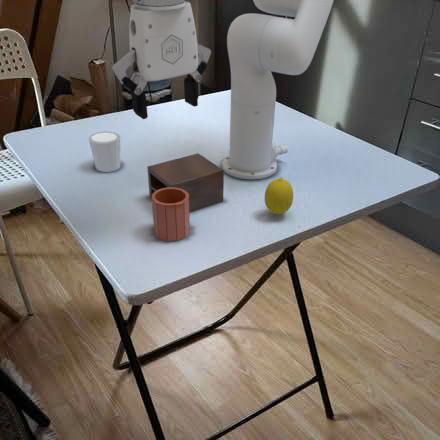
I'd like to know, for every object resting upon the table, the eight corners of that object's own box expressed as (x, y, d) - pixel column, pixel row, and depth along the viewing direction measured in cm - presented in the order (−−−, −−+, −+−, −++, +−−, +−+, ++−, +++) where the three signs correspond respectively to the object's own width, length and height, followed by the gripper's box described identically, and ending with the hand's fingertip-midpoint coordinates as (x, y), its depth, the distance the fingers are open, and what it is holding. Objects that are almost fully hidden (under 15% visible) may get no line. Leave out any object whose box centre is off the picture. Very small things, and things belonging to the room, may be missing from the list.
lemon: (271, 224, 100) (274, 186, 95) (258, 211, 104) (261, 174, 99) (296, 218, 102) (300, 181, 97) (282, 205, 106) (286, 169, 101)
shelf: (198, 183, 113) (198, 152, 109) (223, 201, 107) (223, 170, 103) (149, 197, 108) (147, 166, 103) (172, 217, 102) (171, 185, 97)
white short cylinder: (117, 174, 116) (113, 144, 111) (88, 171, 117) (83, 141, 112) (127, 161, 121) (124, 132, 117) (99, 158, 122) (95, 129, 118)
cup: (178, 219, 101) (176, 184, 97) (196, 234, 97) (195, 198, 92) (148, 228, 98) (145, 193, 94) (165, 244, 94) (163, 208, 90)
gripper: (117, 6, 70) (131, 129, 81) (222, -9, 78) (222, 106, 89) (94, -4, 75) (110, 114, 86) (195, -16, 82) (197, 93, 93)
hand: (166, 110), depth 87 cm, fingers open, 9 cm apart
